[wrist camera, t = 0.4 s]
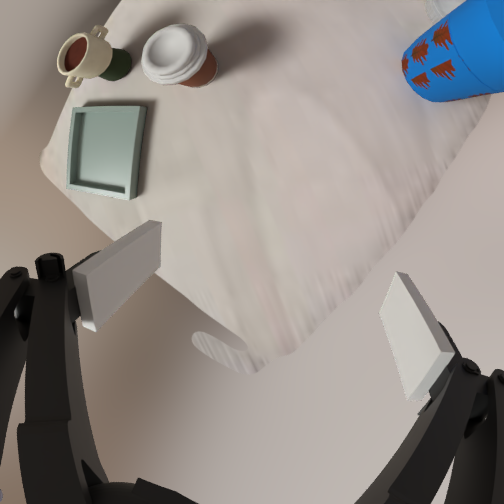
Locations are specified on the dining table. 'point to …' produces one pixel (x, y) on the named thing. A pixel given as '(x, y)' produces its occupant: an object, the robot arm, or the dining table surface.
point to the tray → (105, 150)
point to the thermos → (459, 54)
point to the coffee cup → (179, 57)
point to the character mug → (92, 58)
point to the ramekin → (440, 8)
